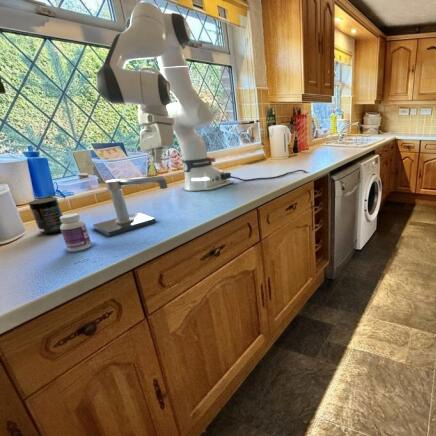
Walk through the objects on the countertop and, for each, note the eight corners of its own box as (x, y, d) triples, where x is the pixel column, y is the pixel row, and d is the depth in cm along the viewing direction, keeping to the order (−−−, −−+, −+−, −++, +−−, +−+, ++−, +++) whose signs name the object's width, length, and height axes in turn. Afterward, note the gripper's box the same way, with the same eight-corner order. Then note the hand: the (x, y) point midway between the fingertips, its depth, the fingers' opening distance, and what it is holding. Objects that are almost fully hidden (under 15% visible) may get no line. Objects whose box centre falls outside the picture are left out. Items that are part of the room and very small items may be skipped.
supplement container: (73, 228, 100) (62, 197, 96) (51, 236, 93) (39, 204, 90) (57, 227, 101) (46, 197, 97) (35, 235, 95) (22, 203, 91)
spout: (106, 194, 94) (102, 181, 93) (111, 191, 98) (108, 179, 96) (166, 189, 98) (163, 177, 97) (168, 186, 102) (166, 174, 100)
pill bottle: (94, 247, 85) (83, 214, 81) (70, 253, 81) (58, 220, 78) (89, 242, 88) (79, 211, 85) (66, 248, 84) (54, 216, 81)
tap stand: (139, 216, 109) (130, 183, 105) (155, 222, 102) (147, 187, 98) (94, 228, 98) (82, 192, 94) (109, 236, 92) (97, 198, 87)
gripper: (133, 125, 106) (136, 164, 107) (155, 114, 92) (158, 160, 94) (153, 127, 111) (155, 165, 112) (176, 118, 97) (179, 161, 98)
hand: (157, 163), depth 103 cm, fingers closed
